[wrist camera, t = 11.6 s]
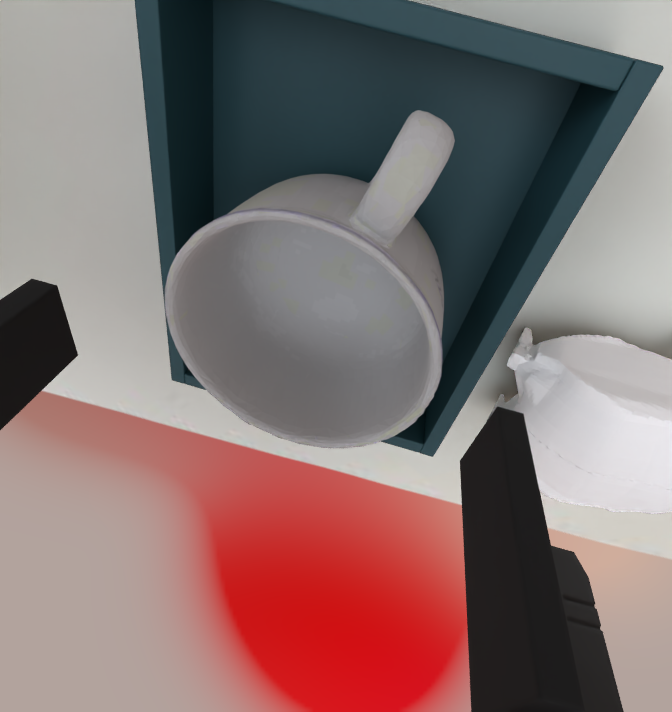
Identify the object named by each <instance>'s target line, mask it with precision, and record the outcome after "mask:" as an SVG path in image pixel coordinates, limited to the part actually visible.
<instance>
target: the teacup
mask: <svg viewBox="0 0 672 712" xmlns="http://www.w3.org/2000/svg"><path fill="white" fill-rule="evenodd" d="M454 142H455V139H454V135H453V131H452V130H451V128H450V127H449V126H448V125H447V123H445V122H444V121H443V120H442V119H440V118H438V117H436V116H434V115H432V114H430V113H429V112H424V111H420V110H418V111H415V112H413V113H412V114H411V115H410V116H409V117H408V119H407V120H406V122H405V124H404V125H403V127H402V129H401V131H400V132H399V134H398V136H397V138H396V139H395V141H394V143H393V145H392V147H391V149H390V151H389V152H388V153H387V155H386V157H385V159H384V161H383V163H382V165H381V166H380V168H379V170H378V171H377V173H376V175H375V176H374V178H373V179H372V180H371V182H370V183H367V182H364V181H361V180H358V179H354V178H351V177H348V176H342V175H334V174H310V175H303V176H298V177H294V178H290V179H287V180H285V181H282V182H279V183H276V184H274V185H272V186H271V187H269V188H267V189H265V190H263V191H261V192H259V193H257V194H256V195H254V196H253V197H251V198H250V199H248V200H247V201H245V202H244V203H242V204H240V205H239V206H237V207H236V208H235V209H233V210H232V211H231V212H229V213H228V214H227V215H224V216H222V217H219V218H217V219H215V220H213V221H212V222H210V223H208V224H207V225H205V226H203V227H202V228H200V229H199V230H198V231H197V232H195V233H194V234H193V235H192V236H191V237H190V239H189V240H188V241H187V242H186V243H185V245H184V246H183V247H182V248H181V249H180V251H179V252H178V253H177V255H176V257H175V259H174V261H173V263H172V265H171V267H170V270H169V273H168V276H167V281H166V286H165V310H166V317H167V322H168V325H169V329H170V333H171V336H172V338H173V341H174V343H175V346H176V348H177V350H178V352H179V354H180V356H181V358H182V359H183V361H184V362H185V364H186V365H187V367H188V369H189V370H190V371H191V372H192V374H193V375H194V377H195V378H196V379H197V380H198V381H199V382H200V383H201V385H202V386H203V387H204V388H205V389H206V390H207V391H208V392H209V393H210V394H211V395H212V396H214V397H215V398H216V399H217V400H218V401H219V402H220V403H221V404H222V405H223V406H225V407H226V408H228V409H229V410H231V411H232V412H233V413H234V414H236V415H237V416H238V417H239V418H241V419H242V420H243V421H245V422H246V423H248V424H250V425H253V426H255V427H257V428H259V429H262V430H264V431H266V432H268V433H270V434H272V435H274V436H276V437H278V438H282V439H286V440H289V441H292V442H295V443H298V444H303V445H309V446H316V447H323V448H348V447H360V446H365V445H369V444H374V443H377V442H380V441H382V440H386V439H389V438H391V437H393V436H395V435H397V434H398V433H400V432H401V431H403V430H405V429H406V428H408V427H409V426H411V425H412V424H413V423H415V422H416V421H417V419H418V417H420V416H421V415H422V414H423V413H424V411H425V408H426V407H427V406H428V405H429V403H430V401H431V400H432V399H433V397H434V393H435V392H436V390H437V388H438V385H439V382H440V379H441V375H442V351H443V350H442V340H441V337H442V328H443V314H444V289H443V279H442V271H441V268H440V264H439V260H438V256H437V254H436V251H435V248H434V246H433V244H432V242H431V240H430V238H429V236H428V234H427V233H426V231H425V230H424V228H423V227H422V226H421V224H420V223H419V221H418V220H417V219H416V218H415V217H414V214H415V213H416V211H417V210H418V208H419V206H420V205H421V204H422V203H423V202H424V200H425V199H426V197H427V196H428V194H429V192H430V191H431V189H432V187H433V186H434V184H435V182H436V180H437V179H438V177H439V175H440V173H441V172H442V170H443V168H444V166H445V165H446V163H447V161H448V159H449V156H450V154H451V151H452V149H453V146H454Z"/></svg>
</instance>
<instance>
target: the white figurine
mask: <svg viewBox="0 0 672 712" xmlns="http://www.w3.org/2000/svg"><path fill="white" fill-rule="evenodd" d="M532 340H533V337H532V331H531V330H530V328H527V327H525V328H524V331H523V333H522V335H521V337H520V338H519V341H518V343H517V346H516V348H515V349H514V350H513V352H512V354H511V356H510V358H509V360H508V363H507V366H508V367H509V368H511V369H513V370H515V377H516V383H517V388H518V394H517V395H515V396H514V397H513V398H512V399H510V400H509V401H508V402H505V401H504V395H503V394H500V396H499V399H498V401H497V403H496V404H495V406H494V409H493V410H492V412H491V414H490V416H491V415H492V413H493V412H494V410H495V409H496V407H497V406H498V407H502V408H505V409H509V410H513V411H516V412H520V413H523V414H524V418H525V423H526V428H527V433H528V438H529V443H530V447H531V452H532V457H533V462H534V467H535V472H536V476H537V481H538V486H539V490H540V491H541V492H542V493H543V494H544V495H546V496H548V497H550V498H553V499H556V500H558V501H560V502H565V503H569V504H576V505H587V506H592V507H602V508H605V509H607V510H608V511H612V512H616V511H617V512H629V511H635V512H643V513H649V514H663V513H667V512H670V511H672V359H669V358H666V357H664V356H661V355H658V354H656V353H653V352H650V351H646V350H642V349H640V348H638V347H637V346H636V345H632V344H627V343H626V342H624V341H622V340H621V339H619V338H612V337H611V336H605V337H603V336H601V335H593V336H592V335H589V334H587V335H583V334H581V335H577V336H576V335H572V336H567V337H565V336H562V337H560V338H555V339H550V340H546V341H544V342H540V343H538V344H537V345H533V343H532ZM490 416H489V418H490ZM489 418H488V419H489ZM487 421H488V420H487Z"/></svg>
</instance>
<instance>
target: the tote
mask: <svg viewBox="0 0 672 712" xmlns="http://www.w3.org/2000/svg"><path fill="white" fill-rule="evenodd" d="M135 8H136V18H137V29H138V39H139V49H140V59H141V69H142V80H143V90H144V100H145V110H146V121H147V131H148V141H149V151H150V161H151V172H152V182H153V192H154V202H155V213H156V223H157V233H158V243H159V253H160V264H161V274H162V284H163V294H164V305H165V286H166V281H167V276H168V273H169V270H170V267H171V265H172V263H173V261H174V259H175V257H176V255H177V253H178V252H179V251H180V249H181V248H182V247H183V246H184V245H185V243H186V242H187V241H188V240H189V239H190V237H191V236H192V235H193V234H194V233H195V232H197V231H198V230H199V229H200V228H202V227H203V226H205V225H207V224H208V223H210V222H212V221H213V220H215V219H217V218H219V217H222V216H224V215H227V214H228V213H229V212H231V211H232V210H233V209H235V208H236V207H237V206H239V205H240V204H242V203H244V202H245V201H247V200H248V199H250V198H251V197H253V196H254V195H256V194H257V193H259V192H261V191H263V190H265V189H267V188H269V187H271V186H272V185H274V184H276V183H279V182H282V181H285V180H287V179H290V178H294V177H298V176H303V175H310V174H334V175H342V176H348V177H351V178H354V179H358V180H361V181H364V182H367V183H370V182H371V180H372V179H373V178H374V176H375V175H376V173H377V171H378V170H379V168H380V166H381V165H382V163H383V161H384V159H385V157H386V155H387V153H388V152H389V151H390V149H391V147H392V145H393V143H394V141H395V139H396V138H397V136H398V134H399V132H400V131H401V129H402V127H403V125H404V124H405V122H406V120H407V119H408V117H409V116H410V115H411V114H412V113H413V112H415V111H418V110H420V111H424V112H429V113H430V114H432V115H434V116H436V117H438V118H440V119H442V120H443V121H444V122H445V123H447V125H448V126H449V127H450V128H451V130H452V131H453V135H454V139H455V142H454V146H453V149H452V151H451V154H450V156H449V159H448V161H447V163H446V165H445V166H444V168H443V170H442V172H441V173H440V175H439V177H438V179H437V180H436V182H435V184H434V186H433V187H432V189H431V191H430V192H429V194H428V196H427V197H426V199H425V200H424V202H423V203H422V204H421V205H420V206H419V208H418V210H417V211H416V213H415V214H414V217H415V218H416V219H417V220H418V221H419V223H420V224H421V226H422V227H423V228H424V230H425V231H426V233H427V234H428V236H429V238H430V240H431V242H432V244H433V246H434V248H435V251H436V254H437V256H438V260H439V264H440V268H441V271H442V279H443V289H444V314H443V328H442V337H441V340H442V350H443V351H442V375H441V379H440V382H439V385H438V388H437V390H436V392H435V393H434V397H433V399H432V400H431V401H430V403H429V405H428V406H427V407H426V408H425V411H424V413H423V414H422V415H421V416H420V417H418V419H417V421H416V422H415V423H413V424H412V425H411V426H409V427H408V428H406V429H405V430H403V431H401V432H400V433H398V434H397V435H395V436H393V437H391V438H389V439H386V440H382V441H381V442H385V443H388V444H391V445H395V446H398V447H402V448H405V449H409V450H412V451H415V452H420V453H422V454H425V455H428V456H432V457H433V456H434V454H435V453H436V451H437V449H438V448H439V446H440V444H441V442H442V441H443V439H444V437H445V436H446V434H447V432H448V431H449V429H450V427H451V426H452V424H453V422H454V421H455V419H456V417H457V416H458V414H459V412H460V410H461V409H462V407H463V405H464V404H465V402H466V400H467V399H468V397H469V395H470V394H471V392H472V390H473V389H474V387H475V385H476V383H477V382H478V380H479V378H480V377H481V375H482V373H483V372H484V370H485V368H486V367H487V365H488V363H489V362H490V360H491V358H492V357H493V355H494V353H495V351H496V350H497V348H498V346H499V345H500V343H501V341H502V340H503V338H504V336H505V335H506V333H507V331H508V330H509V328H510V326H511V324H512V323H513V321H514V319H515V318H516V316H517V314H518V313H519V311H520V309H521V308H522V306H523V304H524V303H525V301H526V299H527V298H528V296H529V294H530V292H531V291H532V289H533V287H534V286H535V284H536V282H537V281H538V279H539V277H540V276H541V274H542V272H543V271H544V269H545V267H546V265H547V264H548V262H549V260H550V259H551V257H552V255H553V254H554V252H555V250H556V249H557V247H558V245H559V244H560V242H561V240H562V239H563V237H564V235H565V233H566V232H567V230H568V228H569V227H570V225H571V223H572V222H573V220H574V218H575V217H576V215H577V213H578V212H579V210H580V208H581V206H582V205H583V203H584V201H585V200H586V198H587V196H588V195H589V193H590V191H591V190H592V188H593V186H594V185H595V183H596V181H597V179H598V178H599V176H600V174H601V173H602V171H603V169H604V168H605V166H606V164H607V163H608V161H609V159H610V158H611V156H612V154H613V153H614V151H615V149H616V147H617V146H618V144H619V142H620V141H621V139H622V137H623V136H624V134H625V132H626V131H627V129H628V127H629V126H630V124H631V122H632V120H633V119H634V117H635V115H636V114H637V112H638V110H639V109H640V107H641V105H642V104H643V102H644V100H645V99H646V97H647V95H648V94H649V92H650V90H651V88H652V87H653V85H654V83H655V82H656V80H657V78H658V77H659V75H660V73H661V72H662V70H663V68H664V67H663V66H661V65H657V64H653V63H649V62H646V61H642V60H638V59H634V58H630V57H626V56H622V55H618V54H614V53H611V52H607V51H603V50H599V49H595V48H591V47H587V46H583V45H580V44H576V43H572V42H568V41H564V40H560V39H556V38H552V37H549V36H545V35H541V34H537V33H533V32H529V31H525V30H521V29H517V28H514V27H510V26H506V25H502V24H498V23H494V22H490V21H486V20H483V19H479V18H475V17H471V16H467V15H463V14H459V13H455V12H452V11H448V10H444V9H440V8H436V7H432V6H428V5H424V4H420V3H417V2H413V1H409V0H135ZM165 315H166V310H165ZM166 325H167V335H168V345H169V356H170V366H171V376H172V380H173V381H177V382H180V383H183V384H187V385H191V386H194V387H198V388H201V389H204V390H206V389H205V388H204V387H203V386H202V385H201V383H200V382H199V381H198V380H197V379H196V378H195V377H194V375H193V374H192V372H191V371H190V370H189V369H188V367H187V365H186V364H185V362H184V361H183V359H182V358H181V356H180V354H179V352H178V350H177V348H176V346H175V343H174V341H173V338H172V336H171V333H170V329H169V325H168V322H167V317H166Z"/></svg>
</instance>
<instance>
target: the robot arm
mask: <svg viewBox="0 0 672 712" xmlns="http://www.w3.org/2000/svg"><path fill="white" fill-rule="evenodd" d="M77 356H78V354H77V350H76V347H75V344H74V340H73V337H72V334H71V330H70V327H69V324H68V320H67V317H66V314H65V310H64V307H63V304H62V300H61V297H60V294H59V290H58V287H57V285H53V284H49V283H46V282H42V281H38V280H35V279H31V280H29V281H28V282H26V283H25V284H23V285H22V286H20V287H19V288H17V289H16V290H14V291H13V292H11V293H10V294H8V295H7V296H5V297H4V298H2V299H1V300H0V430H1V429H2V428H3V427H4V426H5V425H6V424H7V423H8V422H9V421H10V420H11V419H12V418H13V417H14V416H15V415H16V414H18V413H19V412H20V411H21V410H22V409H23V408H24V407H25V406H26V405H27V404H28V403H29V402H30V401H31V400H32V399H33V398H34V397H35V396H36V395H37V394H38V393H39V392H40V391H41V390H42V389H44V388H45V387H46V386H47V385H48V384H49V383H50V382H51V381H52V380H53V379H54V378H55V377H56V376H57V375H58V374H59V373H60V372H61V371H62V370H63V369H64V368H65V367H66V366H67V365H68V364H69V363H70V362H71V361H73V360H74V359H75V358H76V357H77ZM460 471H461V493H462V513H463V514H462V515H463V536H464V559H465V580H466V602H467V624H468V646H469V668H470V690H471V709H472V710H471V712H623V708H622V704H621V701H620V697H619V693H618V689H617V685H616V682H615V678H614V674H613V670H612V666H611V662H610V658H609V655H608V651H607V647H606V643H605V639H604V636H603V632H602V631H601V630H600V626H601V624H600V620H599V616H598V612H597V609H595V607H594V604H595V601H594V597H593V593H592V589H591V586H590V582H589V578H588V576H587V574H586V572H585V571H584V569H583V567H582V565H581V564H580V562H579V560H578V559H577V557H576V555H575V553H574V552H572V551H568V550H564V549H561V548H557V547H554V546H551V544H550V540H549V534H548V530H547V525H546V520H545V515H544V510H543V505H542V501H541V496H540V491H539V486H538V481H537V476H536V472H535V467H534V462H533V457H532V452H531V447H530V443H529V438H528V433H527V428H526V423H525V418H524V414H523V413H520V412H516V411H513V410H509V409H505V408H502V407H498V406H497V407H496V409H495V410H494V412H493V413H492V415H491V416H490V418H489V419H488V421H487V422H486V424H485V425H484V427H483V428H482V429H481V431H480V432H479V434H478V435H477V437H476V438H475V440H474V441H473V443H472V444H471V446H470V447H469V449H468V450H467V451H466V453H465V454H464V456H463V457H462V459H461V460H460Z"/></svg>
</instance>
